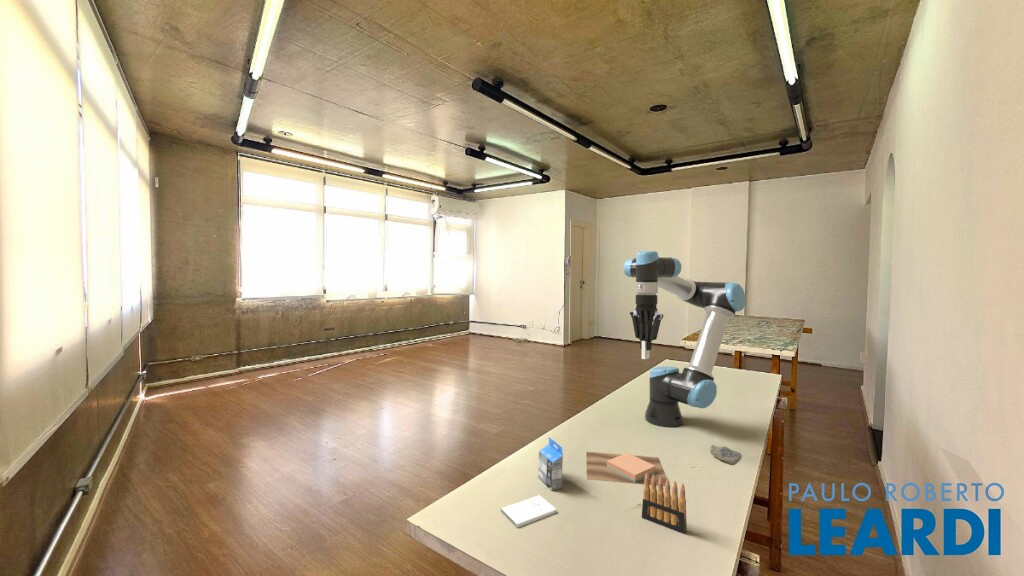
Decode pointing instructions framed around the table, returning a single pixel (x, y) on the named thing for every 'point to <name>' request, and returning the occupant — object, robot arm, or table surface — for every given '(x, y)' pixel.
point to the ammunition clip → (664, 505)
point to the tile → (631, 467)
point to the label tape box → (551, 465)
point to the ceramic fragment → (725, 454)
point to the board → (601, 472)
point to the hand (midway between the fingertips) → (645, 358)
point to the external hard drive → (528, 511)
